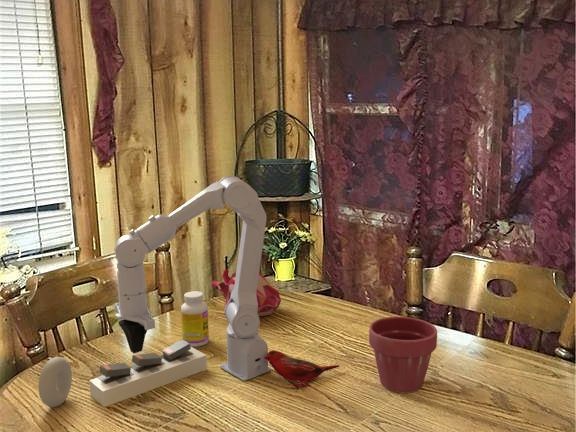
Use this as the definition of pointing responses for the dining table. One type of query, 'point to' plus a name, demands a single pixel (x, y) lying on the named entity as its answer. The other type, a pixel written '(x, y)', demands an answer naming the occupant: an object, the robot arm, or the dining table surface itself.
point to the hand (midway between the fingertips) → (136, 351)
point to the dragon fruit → (265, 293)
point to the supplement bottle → (194, 319)
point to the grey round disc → (55, 381)
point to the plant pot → (402, 351)
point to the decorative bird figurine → (295, 368)
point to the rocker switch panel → (146, 377)
